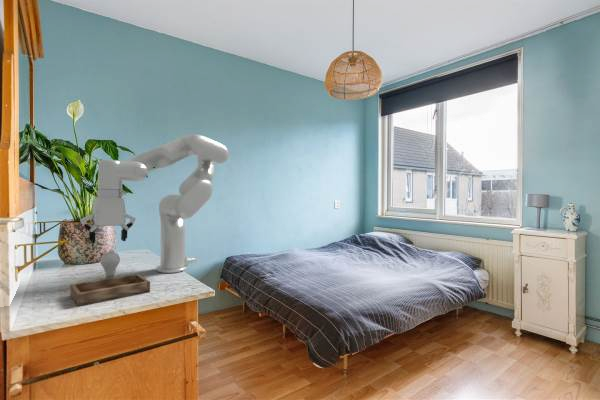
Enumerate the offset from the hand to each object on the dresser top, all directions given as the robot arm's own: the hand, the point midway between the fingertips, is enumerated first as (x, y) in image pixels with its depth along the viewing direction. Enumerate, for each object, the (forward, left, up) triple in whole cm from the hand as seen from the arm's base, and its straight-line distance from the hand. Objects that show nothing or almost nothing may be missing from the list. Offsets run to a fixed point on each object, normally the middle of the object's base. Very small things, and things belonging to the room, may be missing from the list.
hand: (108, 241), depth 113 cm
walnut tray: (+2, +14, -15) cm, 20 cm away
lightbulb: (-1, 0, -15) cm, 15 cm away
